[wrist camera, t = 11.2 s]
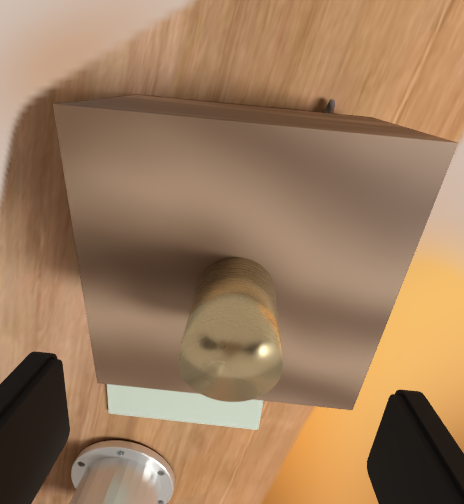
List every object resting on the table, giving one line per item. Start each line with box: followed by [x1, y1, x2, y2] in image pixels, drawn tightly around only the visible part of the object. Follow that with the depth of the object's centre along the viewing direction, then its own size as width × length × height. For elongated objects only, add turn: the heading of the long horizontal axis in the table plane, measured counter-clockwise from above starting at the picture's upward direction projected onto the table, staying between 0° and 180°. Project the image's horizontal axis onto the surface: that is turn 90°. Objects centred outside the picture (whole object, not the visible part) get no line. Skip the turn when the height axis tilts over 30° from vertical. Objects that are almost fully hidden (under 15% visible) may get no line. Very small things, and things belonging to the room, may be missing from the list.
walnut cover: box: [53, 95, 458, 410], centre depth 19 cm, size 16×16×16 cm
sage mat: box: [107, 384, 263, 430], centre depth 33 cm, size 17×17×1 cm
